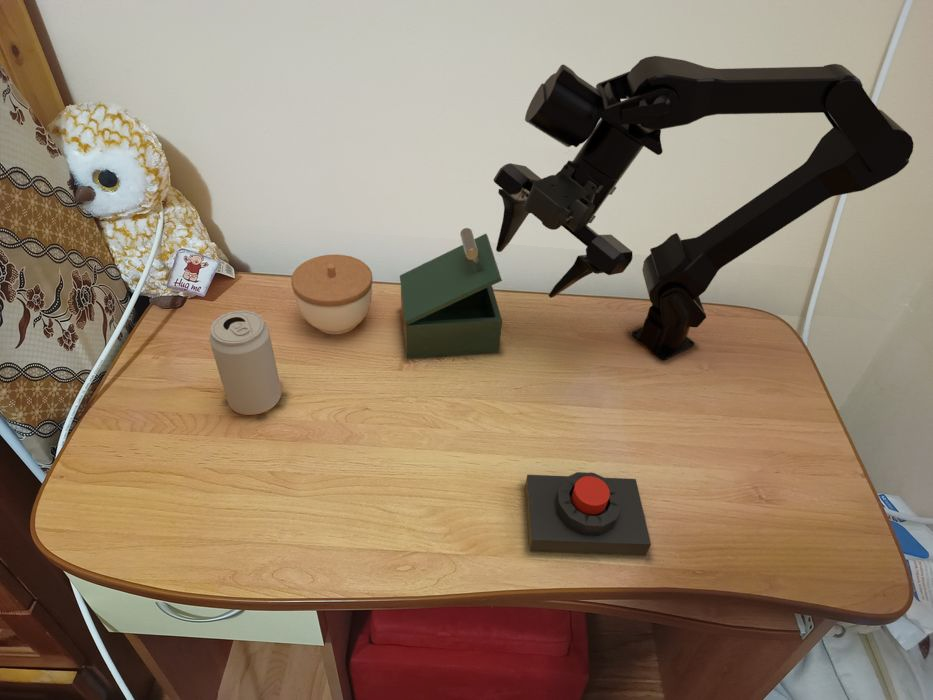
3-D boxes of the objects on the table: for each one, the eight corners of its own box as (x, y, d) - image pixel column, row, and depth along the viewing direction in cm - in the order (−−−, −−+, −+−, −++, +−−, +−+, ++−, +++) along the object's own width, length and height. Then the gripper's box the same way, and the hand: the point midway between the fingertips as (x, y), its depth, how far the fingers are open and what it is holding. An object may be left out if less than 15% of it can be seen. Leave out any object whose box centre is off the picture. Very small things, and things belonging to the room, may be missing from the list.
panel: (631, 490, 70) (639, 468, 67) (645, 555, 64) (655, 534, 62) (524, 486, 70) (529, 464, 67) (529, 551, 64) (534, 530, 61)
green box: (486, 307, 93) (489, 275, 89) (498, 353, 86) (502, 320, 82) (401, 311, 91) (400, 279, 88) (406, 358, 84) (406, 325, 80)
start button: (603, 486, 66) (607, 476, 65) (609, 516, 63) (612, 506, 62) (569, 485, 66) (572, 475, 65) (573, 514, 63) (576, 504, 62)
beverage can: (264, 373, 81) (247, 300, 72) (292, 401, 77) (278, 327, 69) (218, 397, 77) (195, 323, 69) (246, 427, 74) (225, 353, 66)
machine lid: (488, 236, 85) (474, 211, 82) (502, 280, 78) (487, 254, 75) (401, 278, 87) (385, 255, 84) (407, 325, 80) (389, 301, 77)
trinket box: (307, 295, 93) (299, 241, 87) (379, 299, 93) (376, 246, 87) (290, 343, 85) (280, 287, 79) (369, 348, 85) (365, 293, 79)
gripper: (508, 111, 68) (438, 229, 75) (641, 214, 63) (552, 330, 70) (550, 125, 77) (484, 228, 84) (668, 215, 72) (587, 318, 79)
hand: (524, 273), depth 79 cm, fingers open, 9 cm apart
